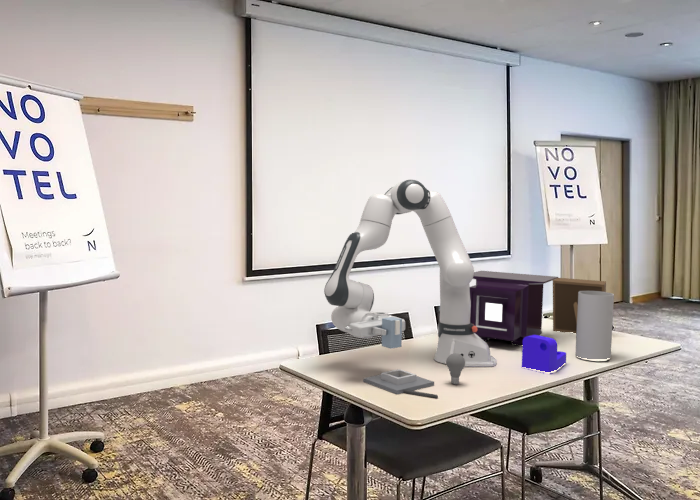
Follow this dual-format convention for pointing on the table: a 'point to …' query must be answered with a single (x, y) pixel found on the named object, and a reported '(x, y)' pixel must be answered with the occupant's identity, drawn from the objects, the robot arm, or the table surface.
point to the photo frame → (570, 301)
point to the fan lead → (420, 393)
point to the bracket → (541, 353)
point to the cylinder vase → (594, 324)
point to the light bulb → (455, 366)
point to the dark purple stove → (507, 305)
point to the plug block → (392, 332)
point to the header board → (398, 381)
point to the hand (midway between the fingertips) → (393, 331)
